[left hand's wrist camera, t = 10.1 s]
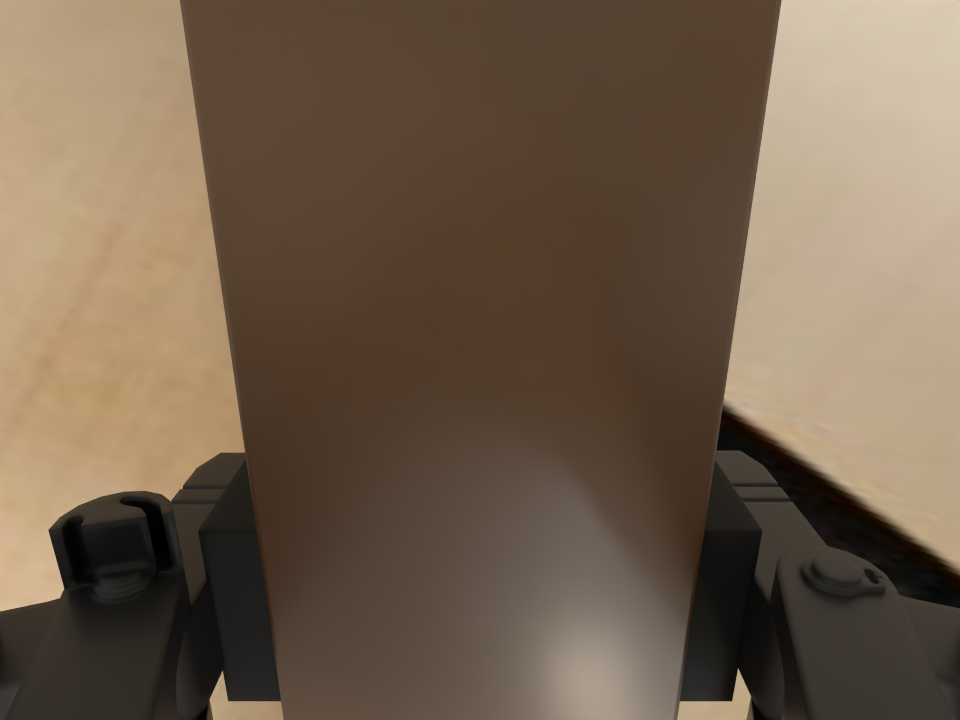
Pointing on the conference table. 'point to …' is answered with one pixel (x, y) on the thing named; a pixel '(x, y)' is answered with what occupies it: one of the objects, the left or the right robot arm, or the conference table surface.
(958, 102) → the conference table surface
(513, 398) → the beam
